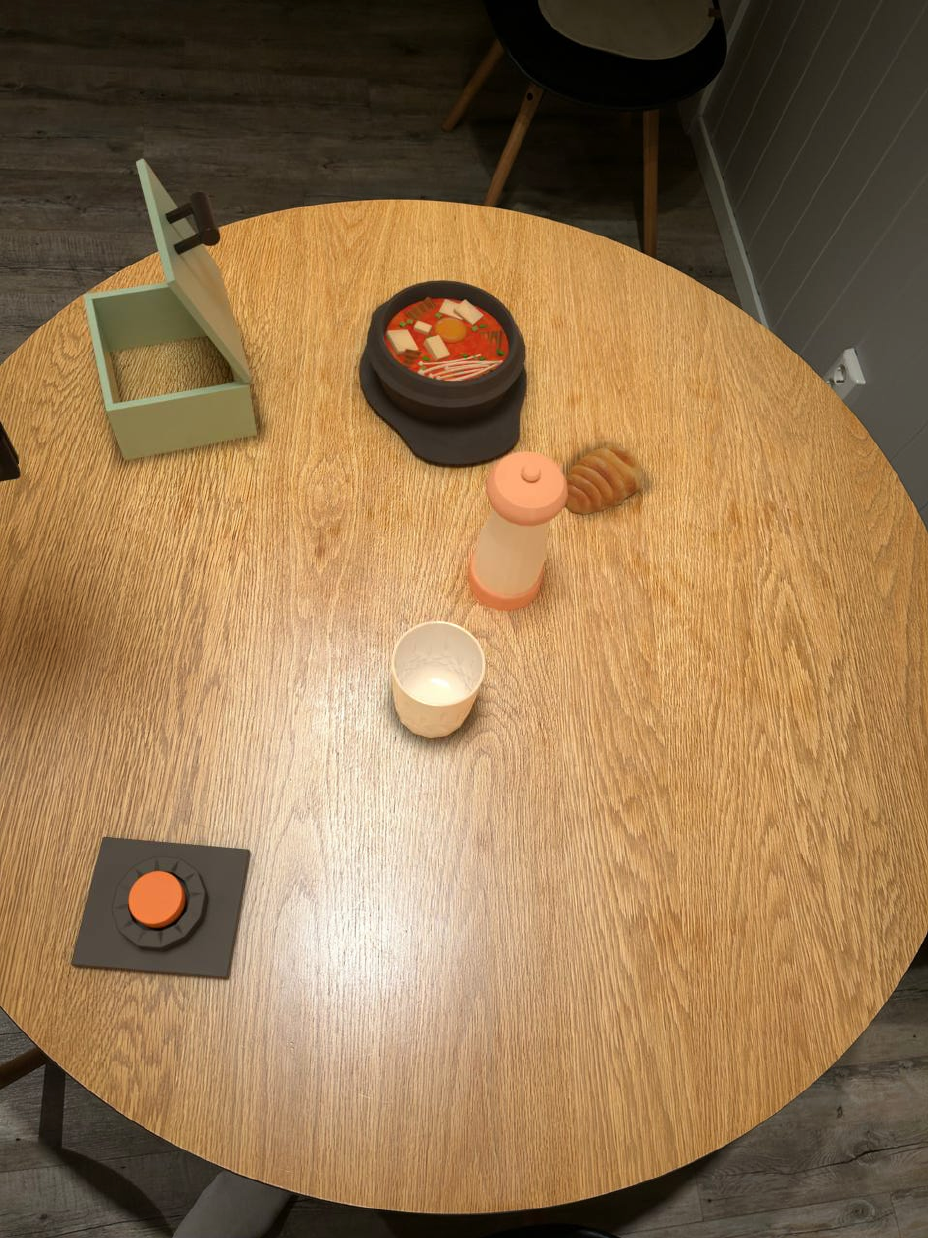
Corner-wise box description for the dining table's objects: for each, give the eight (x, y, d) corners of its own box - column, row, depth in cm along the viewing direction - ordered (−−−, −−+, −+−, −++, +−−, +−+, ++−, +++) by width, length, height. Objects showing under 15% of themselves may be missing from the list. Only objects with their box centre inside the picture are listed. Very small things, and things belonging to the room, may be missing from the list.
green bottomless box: (127, 467, 96) (106, 411, 89) (104, 355, 103) (82, 294, 95) (258, 442, 99) (249, 385, 92) (228, 334, 106) (217, 273, 98)
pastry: (585, 535, 98) (593, 514, 94) (541, 493, 100) (547, 471, 96) (646, 489, 101) (655, 468, 98) (602, 450, 103) (609, 427, 100)
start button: (127, 925, 72) (122, 921, 71) (139, 873, 74) (134, 868, 73) (180, 930, 73) (175, 926, 71) (190, 878, 75) (186, 873, 73)
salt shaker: (453, 568, 94) (472, 450, 77) (516, 543, 96) (548, 423, 79) (487, 627, 92) (514, 517, 75) (551, 600, 94) (591, 487, 77)
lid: (166, 283, 78) (219, 257, 78) (135, 161, 85) (184, 137, 84) (245, 383, 91) (291, 362, 91) (213, 271, 98) (256, 251, 97)
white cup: (483, 682, 89) (495, 635, 80) (460, 758, 85) (471, 717, 76) (403, 659, 89) (407, 609, 80) (377, 733, 85) (379, 690, 77)
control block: (78, 968, 74) (63, 961, 71) (109, 843, 79) (96, 830, 75) (230, 981, 75) (224, 974, 71) (252, 855, 79) (247, 844, 76)
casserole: (554, 459, 102) (569, 408, 94) (387, 488, 98) (389, 437, 91) (490, 294, 113) (499, 237, 105) (337, 315, 109) (335, 256, 101)
